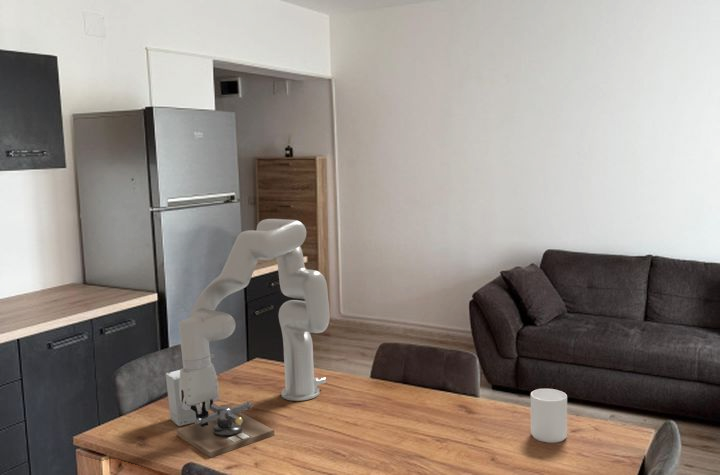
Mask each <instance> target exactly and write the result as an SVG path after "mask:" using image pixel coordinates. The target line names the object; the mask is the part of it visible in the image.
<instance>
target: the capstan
mask: <svg viewBox="0 0 720 475" xmlns="http://www.w3.org/2000/svg"><path fill="white" fill-rule="evenodd" d="M252 408H253V403H252V402H251V401H246V402H244V403H242V404H239V405H235V406H233V407H231V406H230V405H220V406H219V405H216V404H215V402H213V403H212V405H211V406H210V410H209V411H212V413H210V414H209V413H208V415H206V416H203V417H198V418H196V419H195V421H194V423H193V424H194V425H197V426H199V425H201V424H203V423H206V422H210V421H213V420H216V419H217V422H218V424H217V425H215V426H214V427H213V433H214V435H216V436H220V437H228V436H233V435H236V434H238V433H240V432H241V431H242V422H243V420H242V418H241V417H238V416H236V415H234V413H238V412H241V413H242V412H243V411H246V410H247V411H248V410H251V409H252Z"/></svg>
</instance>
